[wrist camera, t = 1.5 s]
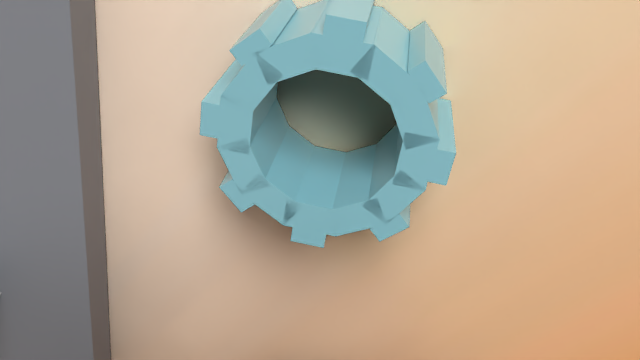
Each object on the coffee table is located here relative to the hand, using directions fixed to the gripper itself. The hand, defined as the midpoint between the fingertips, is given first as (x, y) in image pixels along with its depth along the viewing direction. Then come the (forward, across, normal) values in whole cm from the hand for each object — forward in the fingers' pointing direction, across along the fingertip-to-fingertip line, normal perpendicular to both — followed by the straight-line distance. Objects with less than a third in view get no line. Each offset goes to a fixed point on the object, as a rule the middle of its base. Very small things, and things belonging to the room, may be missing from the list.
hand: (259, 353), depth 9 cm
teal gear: (+11, 0, 0) cm, 11 cm away
